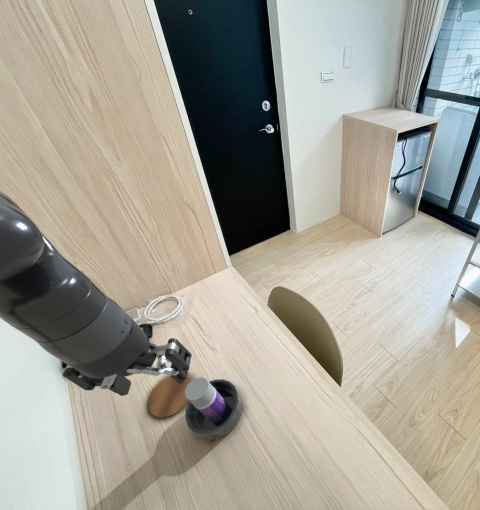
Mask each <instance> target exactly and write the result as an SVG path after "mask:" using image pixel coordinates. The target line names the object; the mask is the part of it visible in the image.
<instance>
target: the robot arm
mask: <svg viewBox="0 0 480 510" xmlns="http://www.w3.org/2000/svg"><path fill="white" fill-rule="evenodd" d="M0 319H1V320H2V321H4V322H5V323H7V324H8V325H10V326H11V327H12V328H14V329H15V330H16V331H19V332H20V333H22V334H23V335H25V336H27V337H28V338H30V339H31V340H33V341H35V342H36V343H37V344H38V345H39V346H40V347H41V348H42V349H43V350H44V351H45V352H47V353H48V354H50V355H51V356H53V357H54V358H56V359H58V360H59V361H61V362H63V363H65V364H66V367H65V369H64V371H63V373H62V377H64V378H65V379H67V380H68V381H70V382H71V383H73V384H74V385H76V386H78V387H79V388H81V389H83V390H84V391H93V390H95V387H99V389H101V390H109V391H111V392H113V393H114V394H117V395H119V396H121V397H124V396H127V395H128V394H129V392H130V389H131V386H132V381H131V380H130V379H129V378H127V377H129V376H132V375H139V374H144V375H148V376H149V375H150V376H153V377H155V376H156V377H158V376H159V375H161V374H163V375H167V376H169V377H170V376H171V377H172V378H173V379H174V380H175V381H176V382H177V383H178V384H182V383H184V382H185V380H187V376H188V374H189V370H190V368H191V366H190V365H191V359H192V355H193V354H192V352H190V351H189V350H188V349H187V348H186V347H185V346H184V344H182V343H181V342H180V341H179V339H178V338H174V337H172V338H169V339H167V340H168V341H167V344H162V345H157V344H154V343H152V342H150V341H149V340H148V337H147V335H146V333H145V330H143V328H142V327H141V326H140V325H139V324H138V323H137V321H135V320H134V319H133V318H132V317H131V316H130V315H129V314H128V312H127V311H125V310H124V309H123V307H121V306H120V305H119V303H118V302H116V301H115V300H114V299H113V298H111V297H109V296H108V295H106V294H105V293H104V291H103V290H101V289H100V287H98V285H96V283H95V282H93V280H91V278H89V276H88V275H86V274H85V273H84V272H83V271H82V270H80V269H79V268H78V267H77V266H75V264H73V263H72V262H70V261H69V260H68V259H67V258H66V257H65V256H63V255H62V254H61V252H59V250H58V249H57V248H56V247H55V246H54V245H53V243H52V242H51V241H50V240H49V239H48V238H47V237H46V235H45V234H44V233H43V232H42V231H41V230H40V228H39V226H38V225H37V224H36V223H35V222H34V221H33V220H32V218H31V217H30V216H29V215H28V214H27V213H26V212H25V211H24V210H23V209H22V208H21V207H20V206H19V205H18V204H17V202H16V201H14V200H13V199H12V198H11V197H10V196H9V195H7V194H5V193H4V191H1V190H0ZM156 359H157V362H156V365H155V367H153V365H154V363H155V361H156ZM167 362H168V363H171V364H170V367H169V366H167V365H166V364H167Z"/></svg>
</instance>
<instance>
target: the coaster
mask: <svg viewBox="0 0 480 510" xmlns="http://www.w3.org/2000/svg"><path fill="white" fill-rule="evenodd" d="M191 381H192V379H191V378H190V377H189V376H188V375H187V380H185V382H184V383H182V384H178V383H177V382H176V381H175V380H174V379H173V378H172V377H171V376H170V375H169V376H168V377H166V378H165V379H163V380H161V381H160V382H159V383H158V384H157V385H156V386H155V388H154V389H153V390H152V392H151V394H150V396H149V399H148V410H149V412H150V413H151V414H152V415H153V416H154V417H156V418H159V419H160V418H161V419H162V418H163V419H164V418H169V417H173V416H174V415H176V414H177V413H180V411H182V410H183V409H184V408H185V407H187V405H188V402H189V400H188V399H187V398H186V397H185V389H186V387H187V385H188V384H189V383H190V382H191Z"/></svg>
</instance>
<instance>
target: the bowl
mask: <svg viewBox="0 0 480 510" xmlns="http://www.w3.org/2000/svg"><path fill="white" fill-rule="evenodd" d="M208 382H209V383H210V384H211V385H212V386H213V387H214V388H215V389H216V390H217V392H218V393H219V394H220V395H221V396H222V398H223V399H224V400H225V401H226V403H227V404H228V406H229V412H228V415H227V416H226V418H225V419H224V420H222V421H221V422H218V423H214V422H211V421H210V420H209V419H208V418H207V417H206V416H205V415H203V414H202V413H201V412H200V411H199V410H198V409H197V408H196V407H195V406H194V405H193V404H192V403H191V402H190V401H189V402H188V403H187V405H186V408H185V415H184V419H185V422H186V425H187V427H188V428H189V429H190V430H191V431H192V432H193V433H194V434H196V435H197V436H198V437H200V438H202V439H205V440H207V441H208V440H209V441H210V440H217V439H220V438H223V437H225V436H226V435H228V434H229V433H231V432H232V431H233V430H234V428H235V427H236V426H237V425H238V423H239V421H240V420H241V417H242V415H243V412H244V400H243V397H242V394H241V393H240V392H239V390H238V389H237V387H236V386H235V385H234V384H233V383H232V382H231V381H229V380H226V379H222V378H221V379H212V380H210V381H208Z"/></svg>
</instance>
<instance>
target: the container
mask: <svg viewBox="0 0 480 510" xmlns="http://www.w3.org/2000/svg"><path fill="white" fill-rule="evenodd" d="M209 382H210V381H209V380H207V379H206V378H205V377H196V378H194V379H191V382H190V383H189V384H188V385H187V387H186V389H185V397H186V398H187V399H188V400H189V401H190V402H191V403H192V404H193V405H194V406H195V407H196V408H197V409H198V410H199V411H200V412H201V413H202V414H203V415H205V416H206V417H207V418H208V419H209V420H210V421H211V422H214V423H218V422H221V421H222V420H224V419H225V418H226V416H227V415H228V412H229V406H228V404H227V403H226V401H225V400H224V399H223V398H222V396H221V395H220V394H219V393H218V392H217V390H216V389H215V388H214V387H213V386H212V385H211V384H210V383H209Z"/></svg>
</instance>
